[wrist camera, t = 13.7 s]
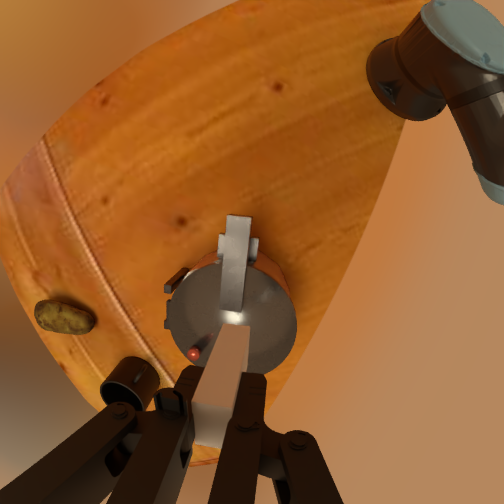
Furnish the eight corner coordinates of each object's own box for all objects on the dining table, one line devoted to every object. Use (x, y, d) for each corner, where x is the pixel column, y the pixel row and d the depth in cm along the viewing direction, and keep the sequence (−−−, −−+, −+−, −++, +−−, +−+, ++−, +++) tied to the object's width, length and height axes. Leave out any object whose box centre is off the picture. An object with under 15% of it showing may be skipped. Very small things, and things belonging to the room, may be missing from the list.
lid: (314, 223, 33) (316, 226, 30) (285, 382, 38) (284, 394, 35) (173, 207, 34) (164, 208, 32) (169, 362, 39) (163, 371, 36)
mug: (173, 368, 51) (158, 397, 42) (149, 398, 53) (133, 425, 45) (134, 339, 50) (112, 364, 41) (113, 373, 53) (94, 397, 44)
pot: (297, 234, 44) (303, 246, 34) (277, 357, 48) (277, 391, 39) (185, 221, 44) (164, 229, 35) (180, 343, 49) (164, 372, 40)
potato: (92, 343, 51) (72, 362, 44) (49, 309, 51) (27, 323, 43) (101, 314, 50) (79, 332, 42) (56, 279, 49) (31, 291, 41)
